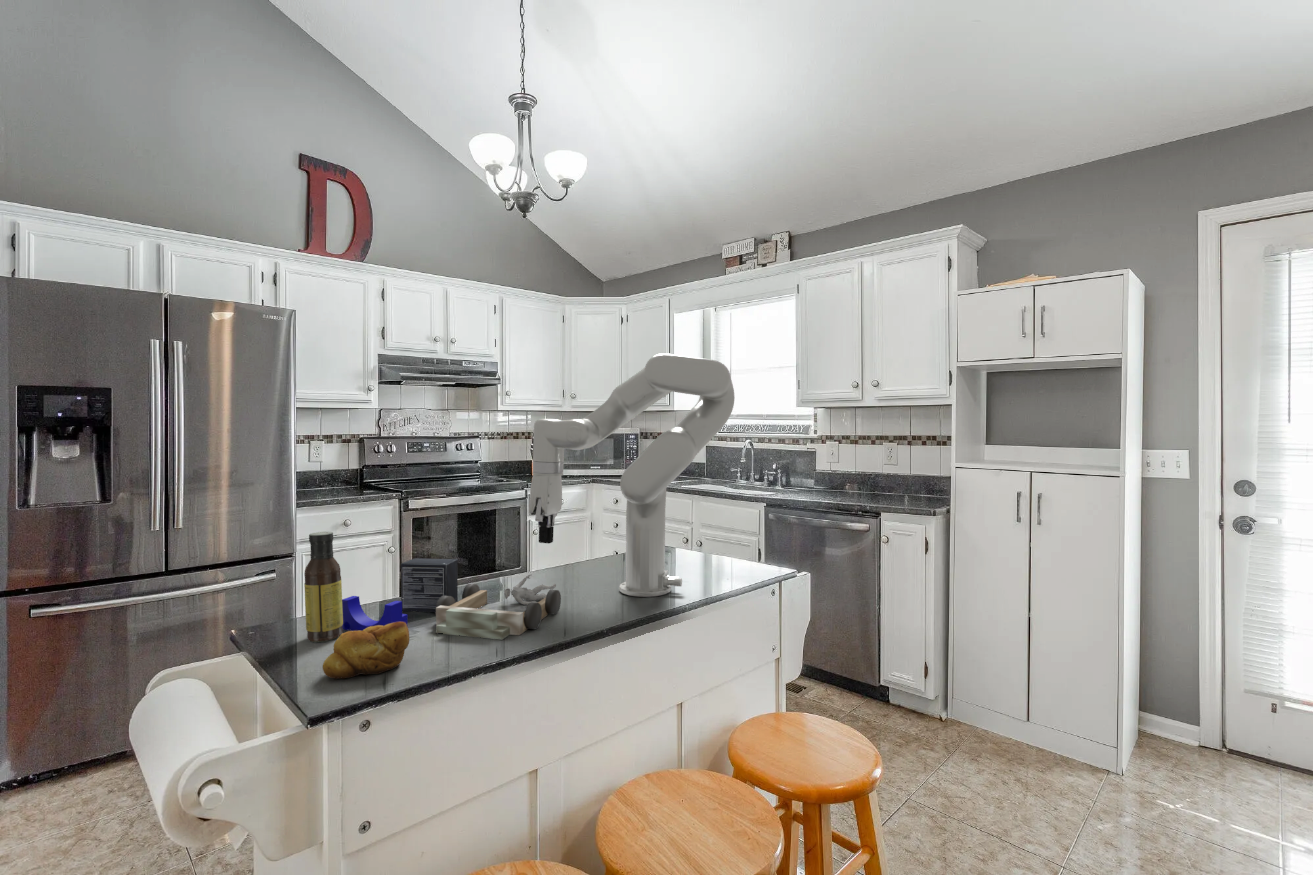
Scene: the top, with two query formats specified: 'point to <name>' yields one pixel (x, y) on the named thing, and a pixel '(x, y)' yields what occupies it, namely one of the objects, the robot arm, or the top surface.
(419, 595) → the small box
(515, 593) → the soldier figure
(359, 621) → the blue cradle block
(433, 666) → the top surface
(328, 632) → the sauce bottle
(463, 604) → the chassis
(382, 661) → the bread roll
